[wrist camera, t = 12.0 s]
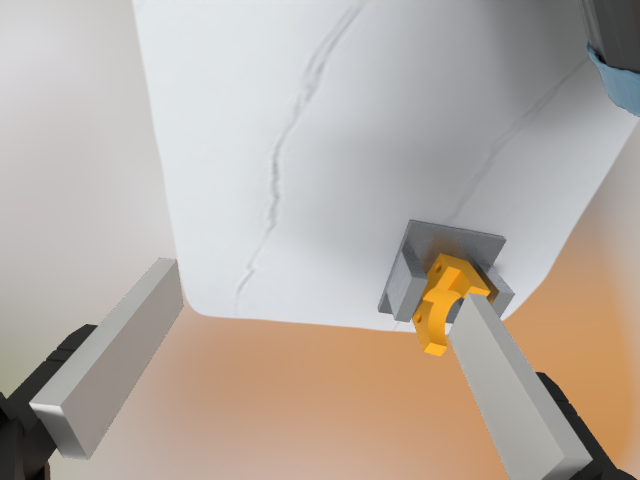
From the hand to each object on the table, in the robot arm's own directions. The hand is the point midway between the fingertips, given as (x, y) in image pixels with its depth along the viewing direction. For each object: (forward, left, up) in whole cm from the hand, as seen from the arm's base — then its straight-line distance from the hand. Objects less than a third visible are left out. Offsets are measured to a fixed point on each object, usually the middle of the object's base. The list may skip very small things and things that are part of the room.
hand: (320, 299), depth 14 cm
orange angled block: (+16, +19, -25) cm, 35 cm away
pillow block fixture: (+14, +19, -25) cm, 34 cm away
